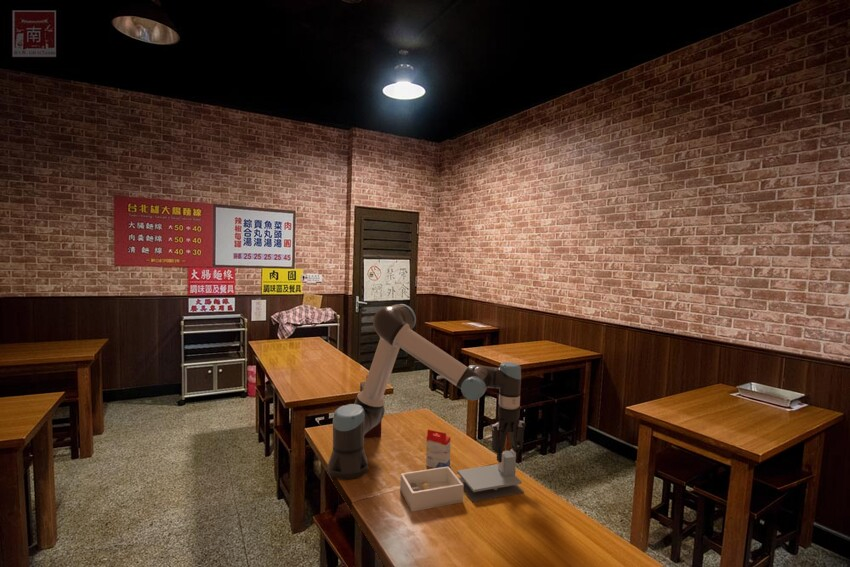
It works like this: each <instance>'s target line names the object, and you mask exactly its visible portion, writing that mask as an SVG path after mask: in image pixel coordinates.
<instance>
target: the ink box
mask: <svg viewBox="0 0 850 567" xmlns="http://www.w3.org/2000/svg"><path fill="white" fill-rule="evenodd" d="M426 432H427V435H426V449H425V450H426V460H425V463H426V464H425V465H426V467H429V468H431V469H434V468H441V467H447V466H449V467H450V466H451V436H449V435H447V432H442V431H438V430H434V429H433V430H432V429H427V431H426Z"/></svg>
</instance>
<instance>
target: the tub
mask: <svg viewBox="0 0 850 567" xmlns="http://www.w3.org/2000/svg"><path fill="white" fill-rule="evenodd" d="M458 478H459V477H458V476H457V474H456V473H454V471H453V470H452V468H450V466H447V467H441V468H428V469H423V470H422V469H421V470H416V471H408V472H403V473H400V483H399V486H400V487H399V488H400V494H402V496H403V498H404V500H405V502H406V504H407V506H408V507H409V509H410V512H417V511H423V510H429V509H434V508H440V507H444V506H450V505H455V504H459V503H460V504H461V503H463V502H464V491H463V487H464V485H463V483H462V482H461V481H460V480H459V479H458Z"/></svg>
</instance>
